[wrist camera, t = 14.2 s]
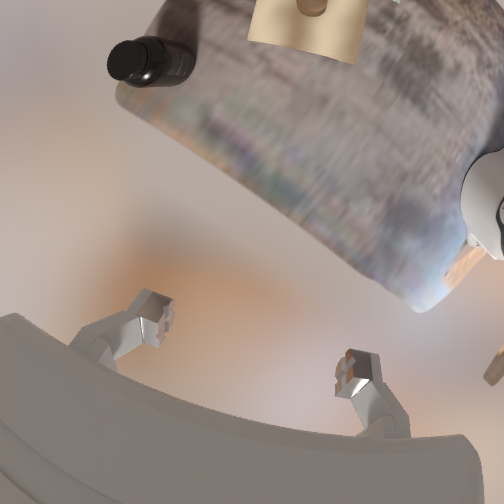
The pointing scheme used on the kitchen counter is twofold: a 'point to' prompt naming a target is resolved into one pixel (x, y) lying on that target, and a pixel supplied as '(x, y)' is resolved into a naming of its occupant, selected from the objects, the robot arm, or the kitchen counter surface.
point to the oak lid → (311, 26)
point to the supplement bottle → (150, 62)
